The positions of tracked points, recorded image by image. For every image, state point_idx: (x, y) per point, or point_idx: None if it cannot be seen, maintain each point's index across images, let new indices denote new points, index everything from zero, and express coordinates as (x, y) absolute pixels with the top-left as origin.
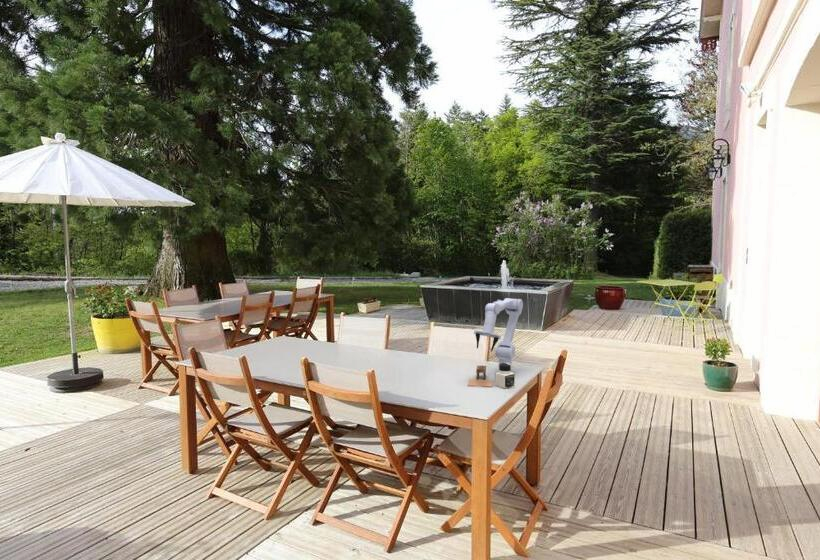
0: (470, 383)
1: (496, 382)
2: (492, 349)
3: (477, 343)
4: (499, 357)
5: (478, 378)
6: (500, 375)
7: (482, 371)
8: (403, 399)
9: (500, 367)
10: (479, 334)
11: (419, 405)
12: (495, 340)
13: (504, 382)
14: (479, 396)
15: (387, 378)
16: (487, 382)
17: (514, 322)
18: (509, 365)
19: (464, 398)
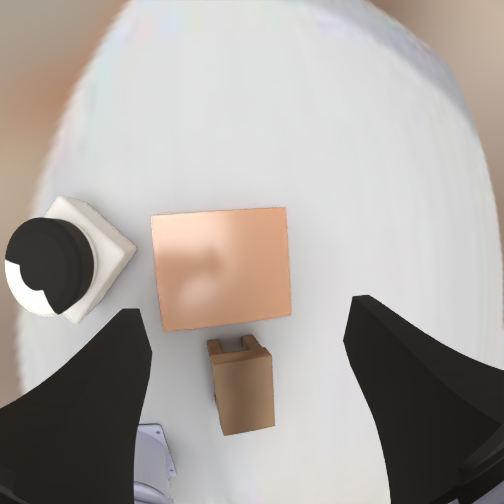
0: (274, 240)
1: (128, 243)
2: (112, 318)
3: (403, 324)
4: (159, 499)
5: (244, 338)
6: (91, 221)
7: (230, 356)
8: (426, 60)
9: (74, 232)
10: (476, 485)
11: (377, 11)
12: (10, 425)
13: (78, 202)
14: (207, 65)
15: (496, 254)
16: (185, 280)
17: None
18: (8, 246)
19: (268, 42)
